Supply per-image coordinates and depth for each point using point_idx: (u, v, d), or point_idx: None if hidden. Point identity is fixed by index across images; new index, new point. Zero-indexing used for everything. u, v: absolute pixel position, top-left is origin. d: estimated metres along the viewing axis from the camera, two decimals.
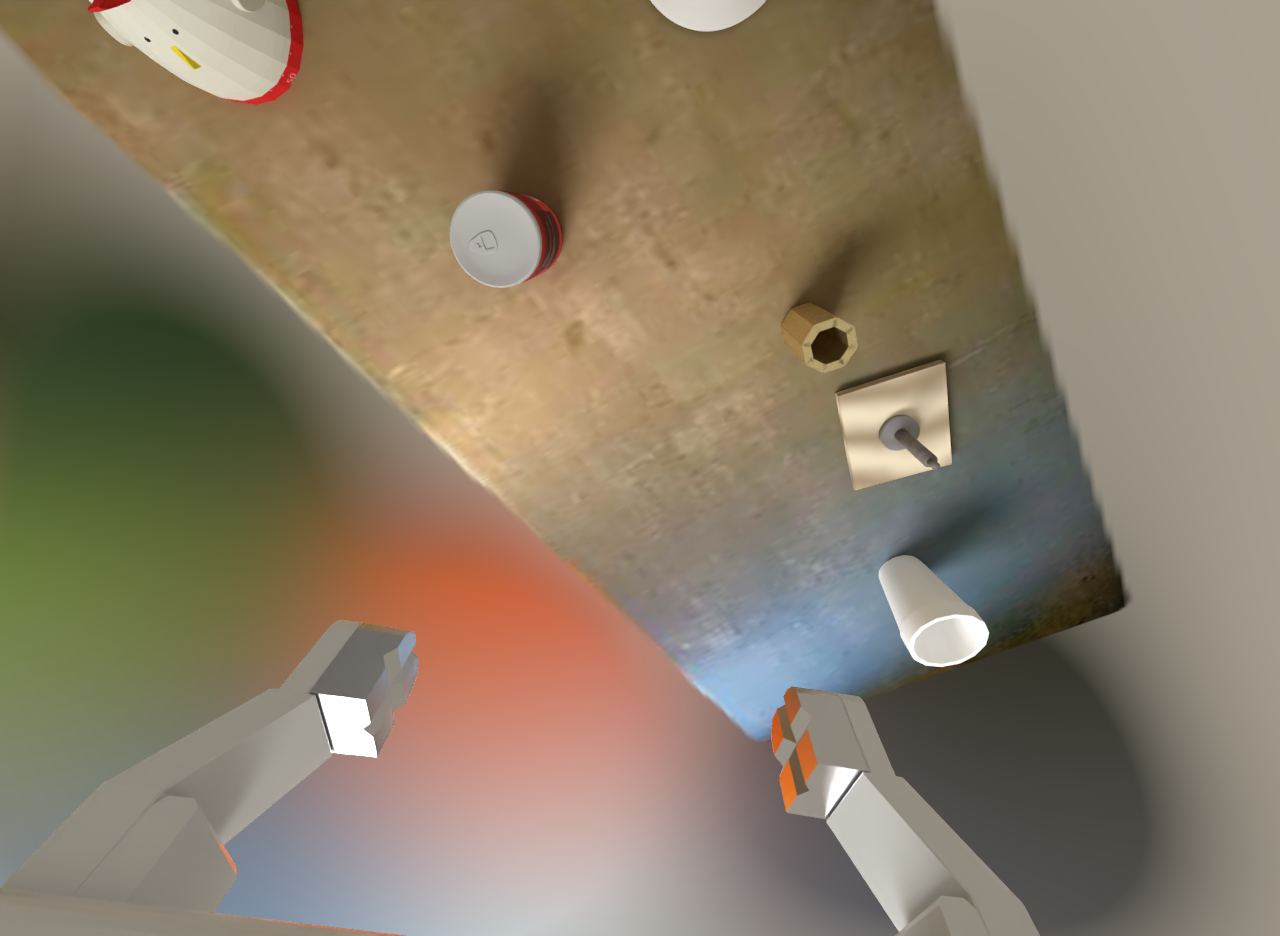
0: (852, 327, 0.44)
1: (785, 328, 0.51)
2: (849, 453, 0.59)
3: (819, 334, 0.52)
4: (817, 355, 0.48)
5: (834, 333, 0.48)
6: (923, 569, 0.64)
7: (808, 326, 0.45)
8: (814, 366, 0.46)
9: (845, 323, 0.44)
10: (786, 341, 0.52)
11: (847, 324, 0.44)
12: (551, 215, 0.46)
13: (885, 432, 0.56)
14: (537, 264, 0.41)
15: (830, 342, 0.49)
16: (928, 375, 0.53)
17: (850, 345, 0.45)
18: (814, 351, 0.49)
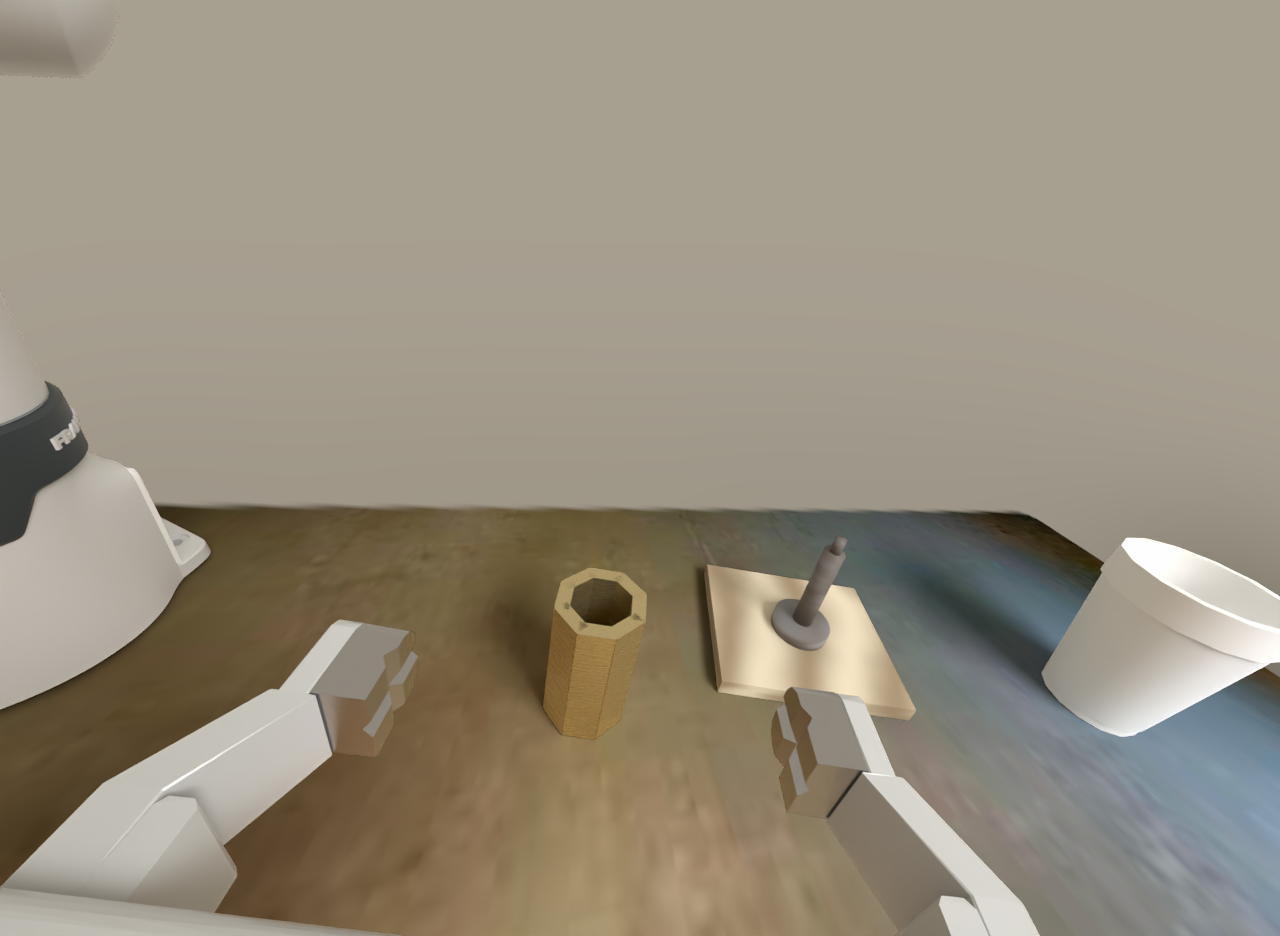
0: (589, 569, 0.28)
1: (563, 712, 0.27)
2: None
3: None
4: None
5: None
6: (1061, 645, 0.37)
7: (556, 626, 0.25)
8: (626, 629, 0.24)
9: (578, 574, 0.27)
10: (589, 723, 0.27)
11: (581, 573, 0.27)
12: None
13: (796, 634, 0.35)
14: None
15: None
16: (719, 580, 0.40)
17: (616, 579, 0.27)
18: None
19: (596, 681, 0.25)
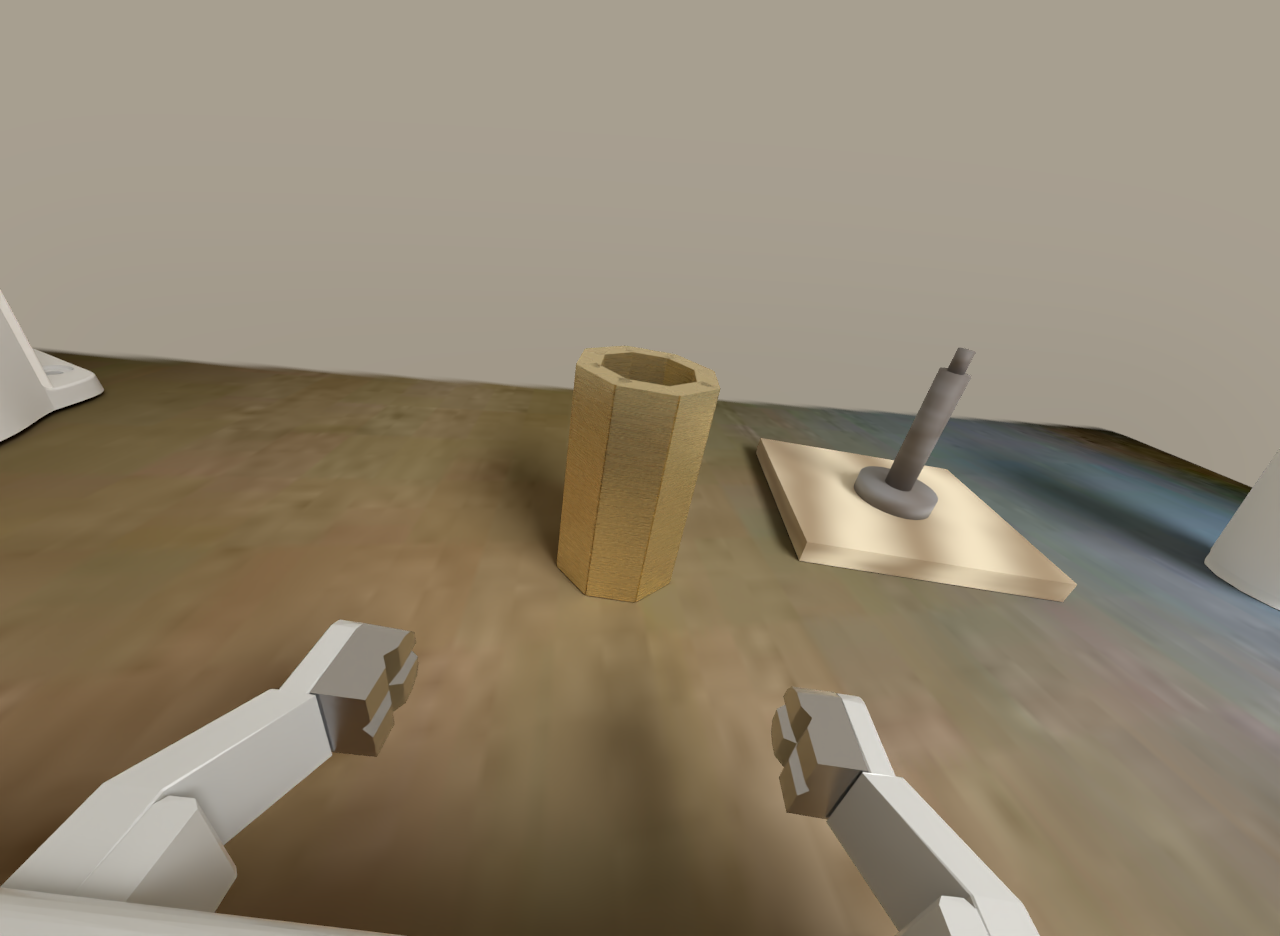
0: (625, 346, 0.19)
1: (588, 553, 0.18)
2: (966, 567, 0.23)
3: None
4: None
5: None
6: (1241, 519, 0.28)
7: (580, 398, 0.16)
8: (693, 390, 0.15)
9: (609, 348, 0.18)
10: (627, 571, 0.18)
11: (614, 347, 0.18)
12: None
13: (896, 497, 0.26)
14: None
15: None
16: (779, 451, 0.31)
17: (666, 356, 0.18)
18: None
19: (642, 487, 0.16)
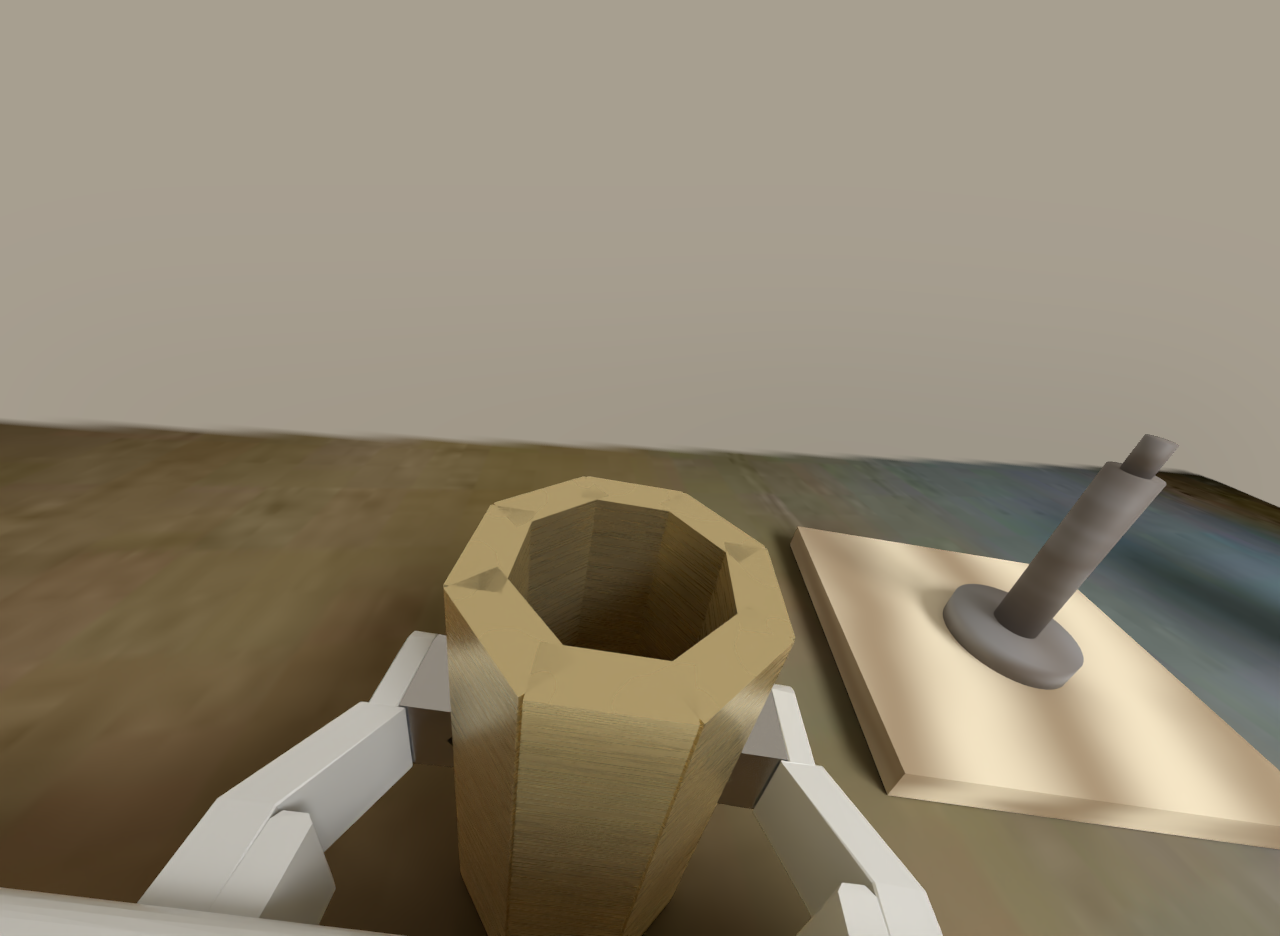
0: (584, 480, 0.09)
1: (502, 924, 0.08)
2: (1168, 808, 0.14)
3: None
4: None
5: (618, 645, 0.11)
6: None
7: (457, 659, 0.07)
8: (735, 672, 0.06)
9: (549, 491, 0.09)
10: None
11: (559, 487, 0.09)
12: None
13: (1023, 655, 0.17)
14: None
15: None
16: (826, 552, 0.22)
17: (667, 506, 0.09)
18: None
19: (609, 860, 0.07)
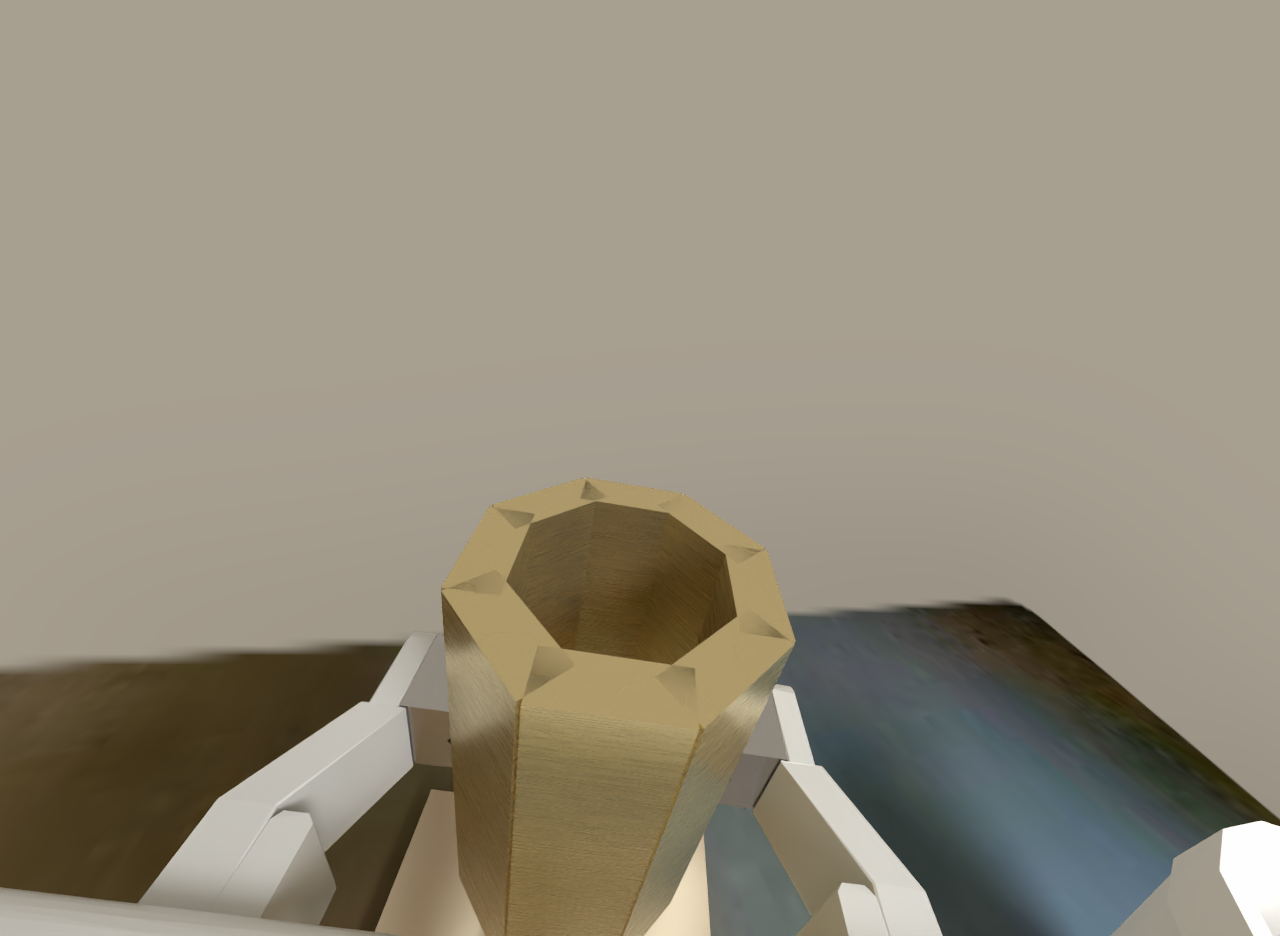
0: (584, 482, 0.09)
1: (501, 928, 0.08)
2: None
3: None
4: None
5: (617, 647, 0.11)
6: None
7: (455, 662, 0.07)
8: (735, 676, 0.06)
9: (548, 492, 0.09)
10: None
11: (558, 489, 0.09)
12: None
13: None
14: None
15: None
16: (434, 835, 0.22)
17: (666, 508, 0.09)
18: None
19: (608, 864, 0.07)
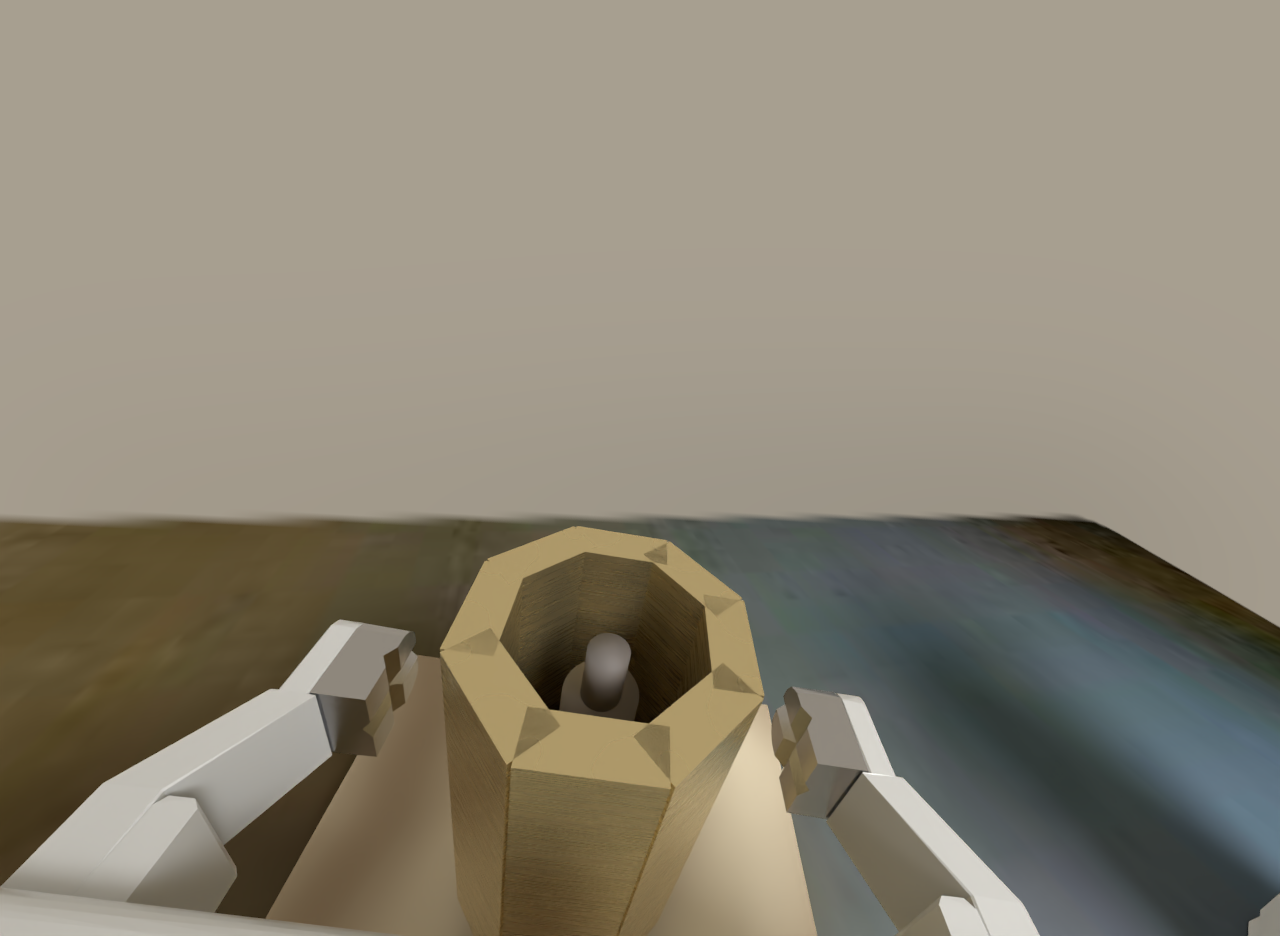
0: (574, 531, 0.10)
1: None
2: None
3: None
4: None
5: None
6: None
7: (453, 715, 0.07)
8: (706, 733, 0.06)
9: (540, 543, 0.09)
10: None
11: (550, 539, 0.09)
12: None
13: None
14: None
15: (640, 715, 0.11)
16: (415, 703, 0.16)
17: (651, 557, 0.10)
18: None
19: (593, 898, 0.07)
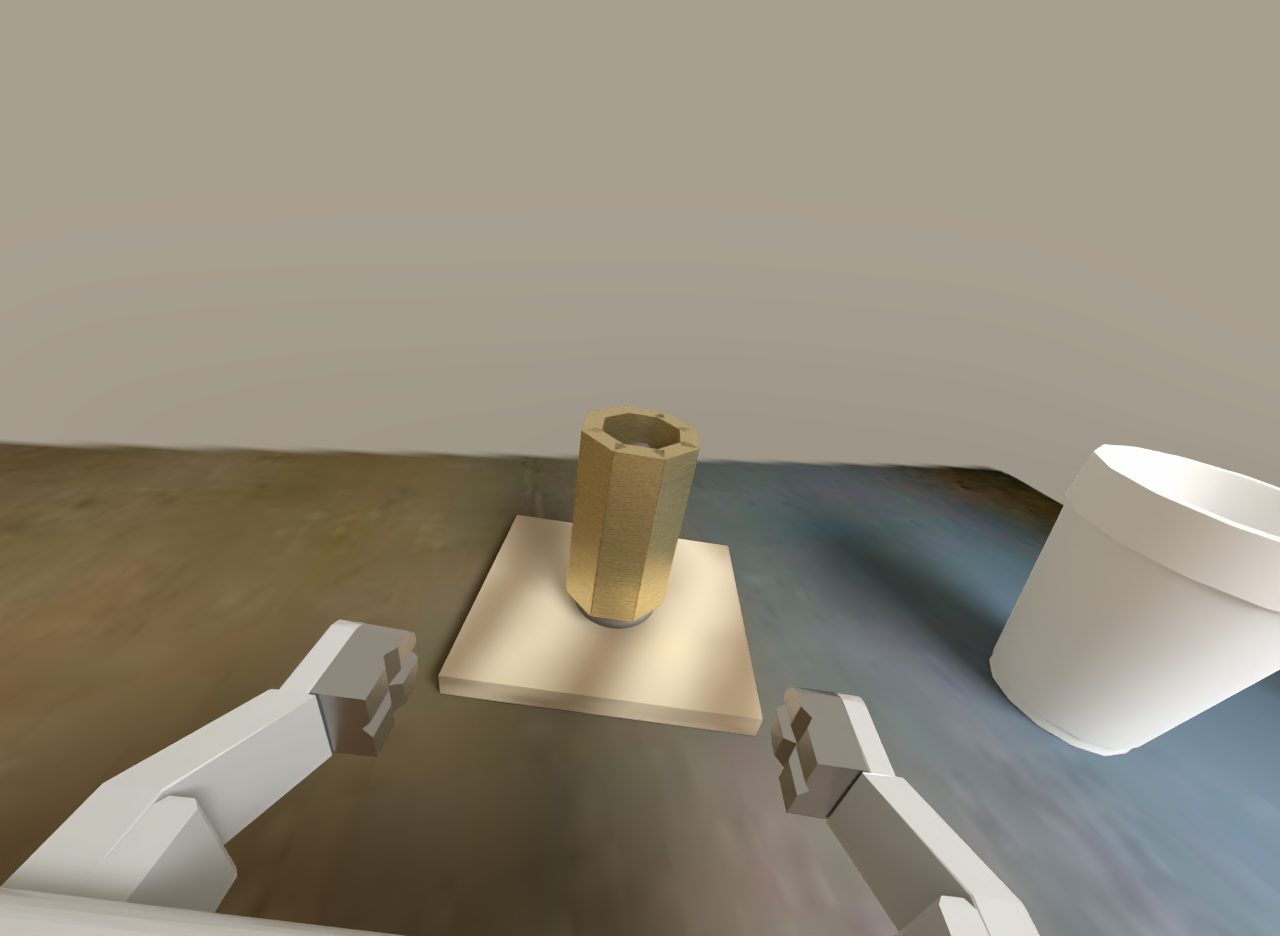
0: (622, 407, 0.22)
1: (593, 581, 0.21)
2: (630, 700, 0.20)
3: None
4: None
5: None
6: (1013, 616, 0.25)
7: (584, 457, 0.19)
8: (677, 452, 0.19)
9: (609, 409, 0.22)
10: (625, 596, 0.21)
11: (613, 408, 0.22)
12: None
13: None
14: None
15: None
16: (523, 534, 0.28)
17: (657, 416, 0.22)
18: None
19: (637, 529, 0.20)
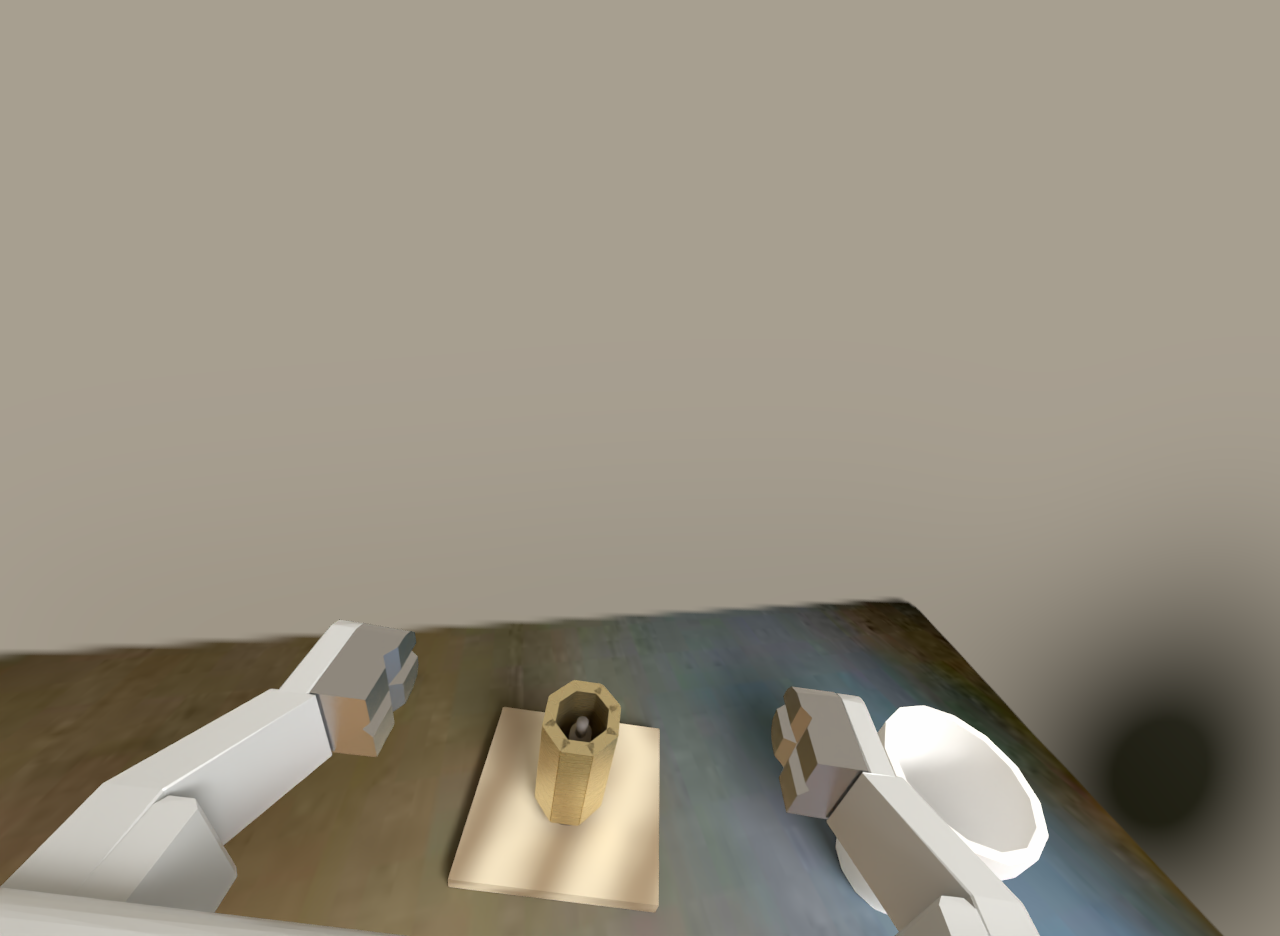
0: (573, 682, 0.33)
1: (551, 805, 0.32)
2: (572, 893, 0.30)
3: None
4: None
5: None
6: None
7: (544, 739, 0.30)
8: (602, 744, 0.29)
9: (563, 688, 0.32)
10: (573, 814, 0.32)
11: (566, 686, 0.32)
12: None
13: None
14: None
15: (595, 737, 0.34)
16: (507, 729, 0.39)
17: (596, 691, 0.32)
18: None
19: (578, 784, 0.30)
